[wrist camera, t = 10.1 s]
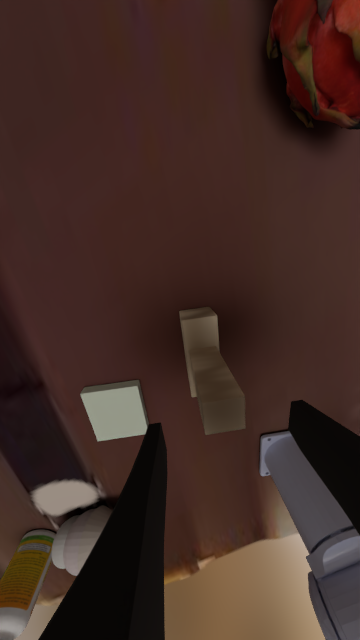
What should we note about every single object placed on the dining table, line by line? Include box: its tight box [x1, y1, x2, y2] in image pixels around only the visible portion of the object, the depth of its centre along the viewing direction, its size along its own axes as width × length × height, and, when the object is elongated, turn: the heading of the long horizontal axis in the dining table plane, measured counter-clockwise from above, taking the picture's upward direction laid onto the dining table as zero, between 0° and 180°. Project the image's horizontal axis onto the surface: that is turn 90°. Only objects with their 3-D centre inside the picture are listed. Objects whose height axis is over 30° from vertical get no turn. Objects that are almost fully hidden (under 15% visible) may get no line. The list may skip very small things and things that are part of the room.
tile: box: [80, 380, 149, 441], centre depth 20 cm, size 2×7×6 cm
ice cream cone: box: [51, 505, 113, 576], centre depth 23 cm, size 6×6×15 cm
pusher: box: [179, 307, 245, 435], centre depth 14 cm, size 3×8×9 cm, turn 7°
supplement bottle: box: [0, 529, 56, 640], centre depth 23 cm, size 5×5×10 cm
